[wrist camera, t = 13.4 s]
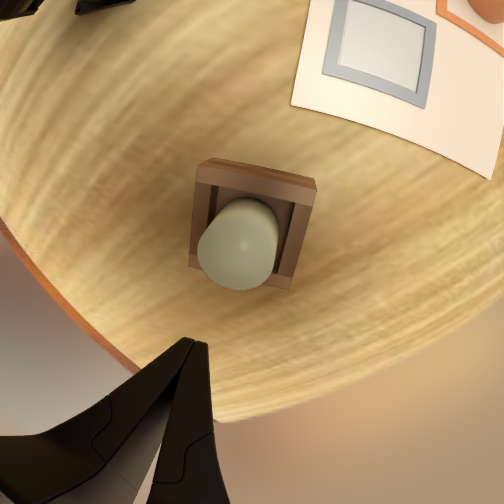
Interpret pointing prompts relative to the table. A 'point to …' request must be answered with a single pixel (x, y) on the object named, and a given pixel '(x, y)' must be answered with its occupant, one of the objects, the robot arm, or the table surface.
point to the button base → (263, 188)
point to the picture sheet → (408, 73)
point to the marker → (489, 10)
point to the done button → (240, 244)
